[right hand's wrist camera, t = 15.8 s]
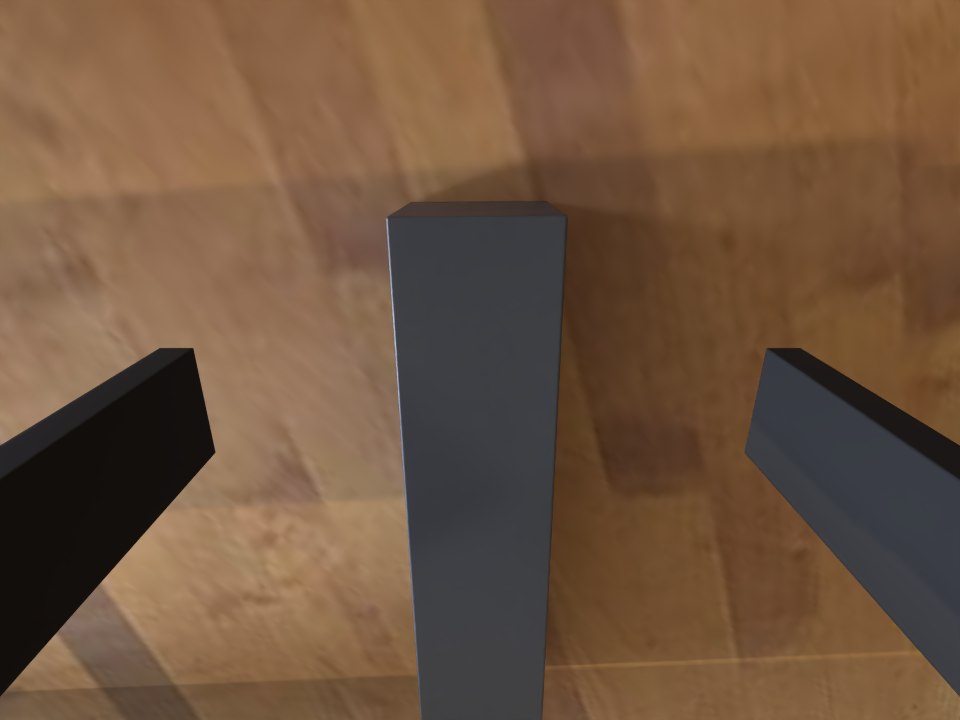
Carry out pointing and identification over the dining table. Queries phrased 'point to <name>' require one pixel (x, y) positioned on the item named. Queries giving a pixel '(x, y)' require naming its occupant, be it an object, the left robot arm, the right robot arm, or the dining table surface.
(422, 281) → the grey beam
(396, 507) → the dining table surface
